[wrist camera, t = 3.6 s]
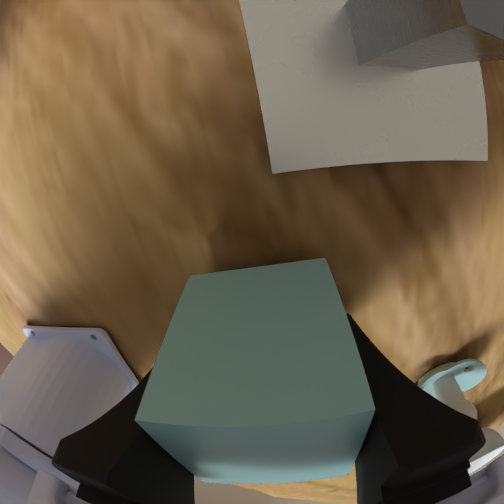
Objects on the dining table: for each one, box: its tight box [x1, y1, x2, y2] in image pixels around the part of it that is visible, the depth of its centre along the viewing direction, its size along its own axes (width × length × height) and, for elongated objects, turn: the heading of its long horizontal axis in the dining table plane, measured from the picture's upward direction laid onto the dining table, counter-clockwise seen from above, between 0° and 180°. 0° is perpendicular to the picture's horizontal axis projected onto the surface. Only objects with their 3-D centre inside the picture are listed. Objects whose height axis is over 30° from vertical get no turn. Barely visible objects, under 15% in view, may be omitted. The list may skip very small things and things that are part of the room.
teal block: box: [135, 258, 375, 484], centre depth 9 cm, size 5×5×7 cm
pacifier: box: [417, 359, 486, 420], centre depth 14 cm, size 7×6×6 cm
